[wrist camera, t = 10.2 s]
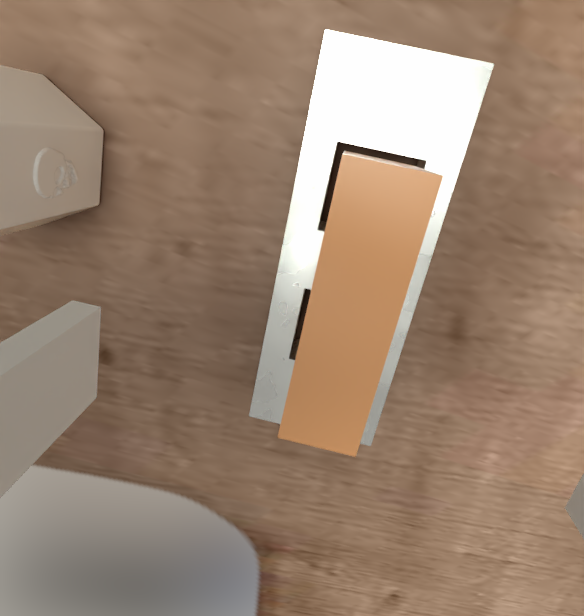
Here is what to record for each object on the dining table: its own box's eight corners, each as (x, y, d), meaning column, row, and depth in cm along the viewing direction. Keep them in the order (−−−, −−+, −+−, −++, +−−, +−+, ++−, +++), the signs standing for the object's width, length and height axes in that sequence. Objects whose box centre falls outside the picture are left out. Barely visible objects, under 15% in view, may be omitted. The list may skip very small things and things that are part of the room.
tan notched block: (302, 337, 30) (277, 437, 20) (345, 149, 26) (342, 153, 15) (353, 349, 30) (355, 456, 20) (406, 162, 26) (443, 175, 15)
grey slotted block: (257, 392, 32) (249, 416, 29) (328, 42, 24) (324, 29, 21) (368, 419, 32) (370, 446, 29) (477, 73, 24) (494, 63, 21)
